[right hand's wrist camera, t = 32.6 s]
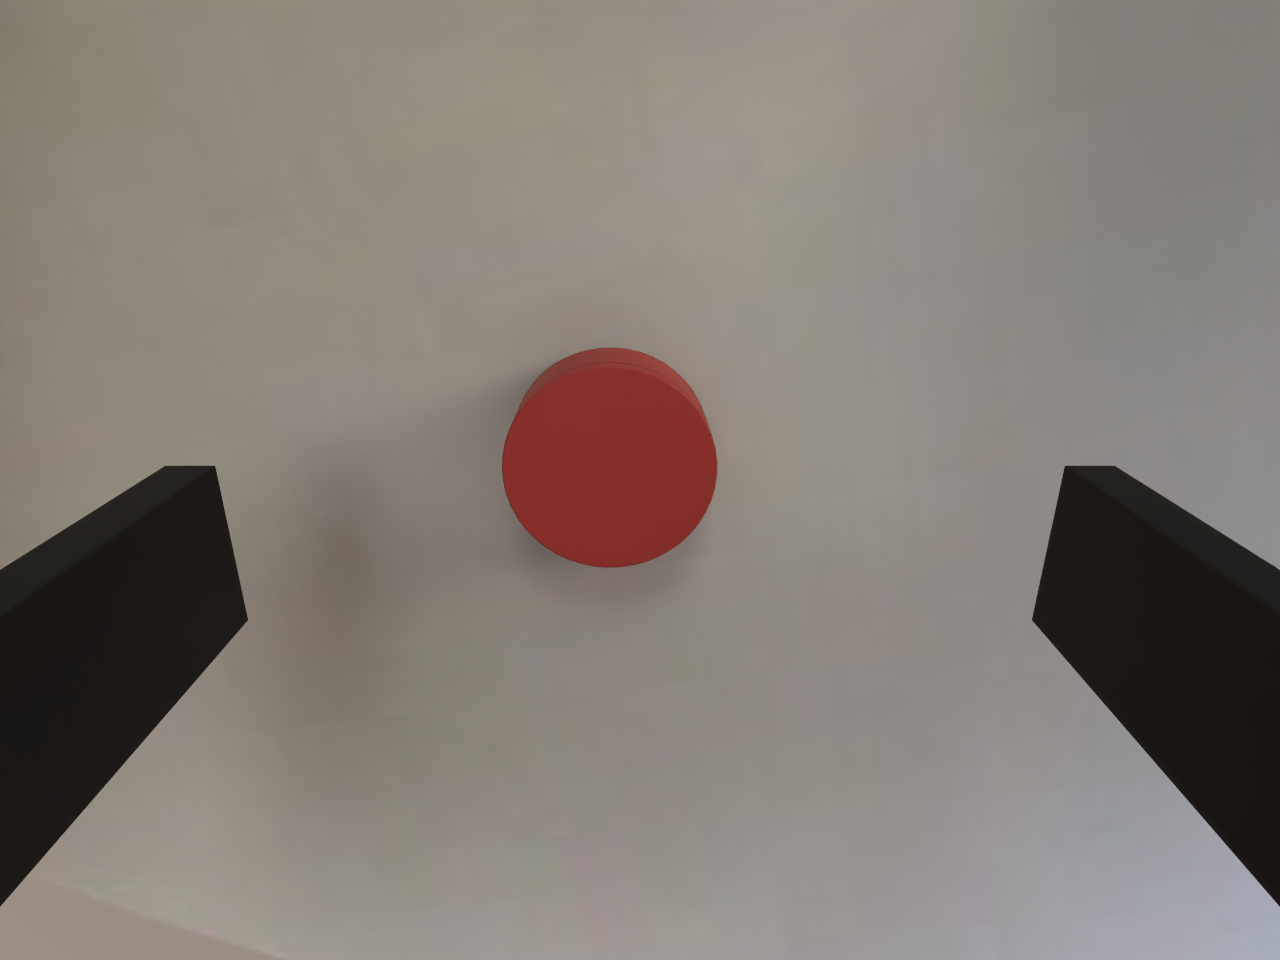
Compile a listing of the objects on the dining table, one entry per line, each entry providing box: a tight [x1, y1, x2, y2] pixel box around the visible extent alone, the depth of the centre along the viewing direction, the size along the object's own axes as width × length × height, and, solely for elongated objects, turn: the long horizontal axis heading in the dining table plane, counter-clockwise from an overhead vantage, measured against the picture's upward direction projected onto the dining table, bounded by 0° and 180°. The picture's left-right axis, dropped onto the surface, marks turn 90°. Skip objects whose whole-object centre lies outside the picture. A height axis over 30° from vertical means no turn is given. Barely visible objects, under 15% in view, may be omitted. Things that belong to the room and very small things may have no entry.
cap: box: [502, 348, 717, 567], centre depth 17 cm, size 4×4×2 cm
